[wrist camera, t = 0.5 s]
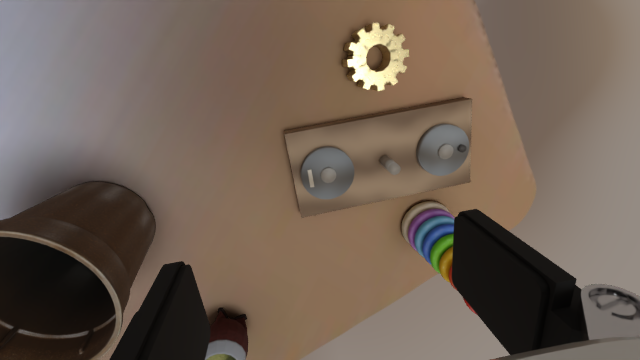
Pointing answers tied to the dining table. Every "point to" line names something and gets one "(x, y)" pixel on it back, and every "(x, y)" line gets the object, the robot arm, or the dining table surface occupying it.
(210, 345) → the mate gourd
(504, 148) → the dining table surface
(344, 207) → the gear board
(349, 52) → the brass gear
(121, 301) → the plant pot
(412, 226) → the stacking toy
